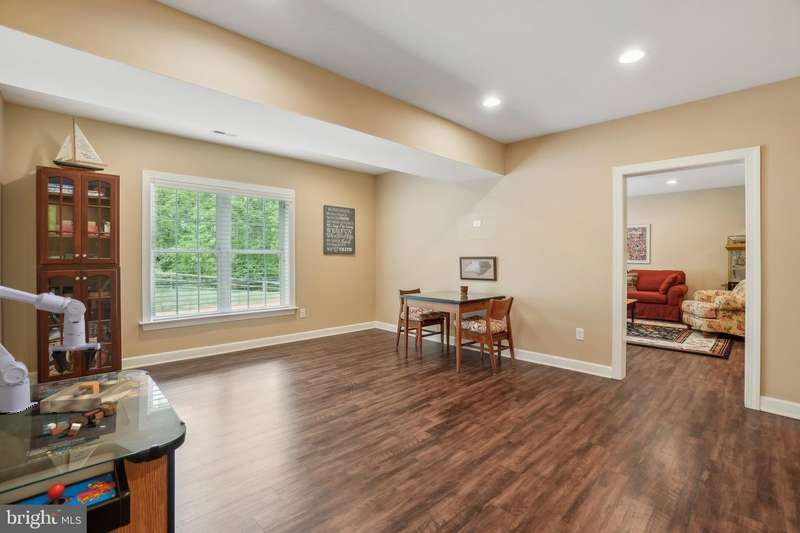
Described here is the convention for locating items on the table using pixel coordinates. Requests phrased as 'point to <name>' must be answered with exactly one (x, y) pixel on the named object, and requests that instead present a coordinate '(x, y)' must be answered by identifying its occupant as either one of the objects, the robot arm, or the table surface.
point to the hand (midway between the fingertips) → (75, 370)
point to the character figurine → (86, 418)
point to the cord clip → (92, 385)
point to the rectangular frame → (85, 397)
